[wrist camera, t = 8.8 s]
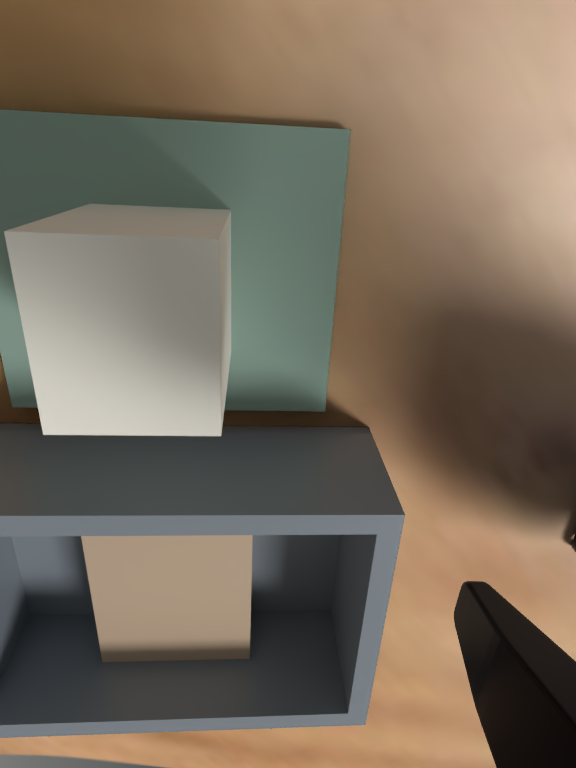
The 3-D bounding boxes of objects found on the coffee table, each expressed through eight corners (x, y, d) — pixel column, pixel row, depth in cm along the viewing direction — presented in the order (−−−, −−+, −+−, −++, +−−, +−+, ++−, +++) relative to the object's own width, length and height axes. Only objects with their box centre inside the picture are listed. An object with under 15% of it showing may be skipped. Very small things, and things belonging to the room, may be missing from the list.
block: (230, 209, 16) (218, 239, 11) (231, 351, 18) (221, 436, 13) (89, 203, 16) (3, 231, 10) (107, 349, 18) (43, 435, 13)
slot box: (368, 427, 21) (405, 515, 16) (343, 612, 25) (365, 724, 20) (-30, 422, 19) (-128, 516, 14) (21, 618, 24) (-40, 739, 19)
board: (348, 130, 16) (350, 129, 15) (323, 405, 20) (324, 411, 20) (-44, 107, 15) (-54, 106, 14) (17, 401, 19) (12, 407, 19)
